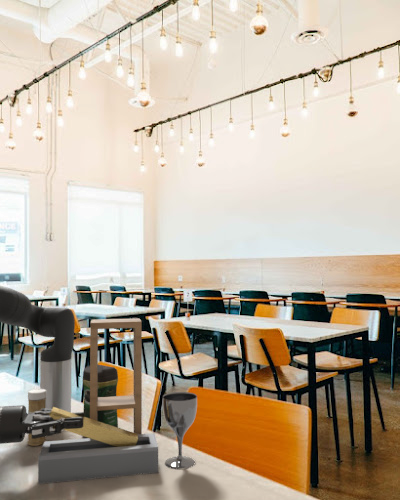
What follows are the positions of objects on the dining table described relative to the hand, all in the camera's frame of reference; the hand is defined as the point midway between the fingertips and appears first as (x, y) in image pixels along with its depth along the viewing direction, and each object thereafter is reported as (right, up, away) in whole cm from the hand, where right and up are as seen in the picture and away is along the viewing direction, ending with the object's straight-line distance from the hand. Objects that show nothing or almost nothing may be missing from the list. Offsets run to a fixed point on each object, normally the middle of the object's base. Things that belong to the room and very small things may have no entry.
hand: (83, 419), depth 100 cm
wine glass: (+21, -11, +4) cm, 25 cm away
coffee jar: (-1, -13, +22) cm, 26 cm away
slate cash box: (+4, -11, 0) cm, 12 cm away
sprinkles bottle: (-16, -12, +16) cm, 26 cm away
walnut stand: (+5, -12, +10) cm, 16 cm away
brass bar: (+2, -4, 0) cm, 4 cm away
